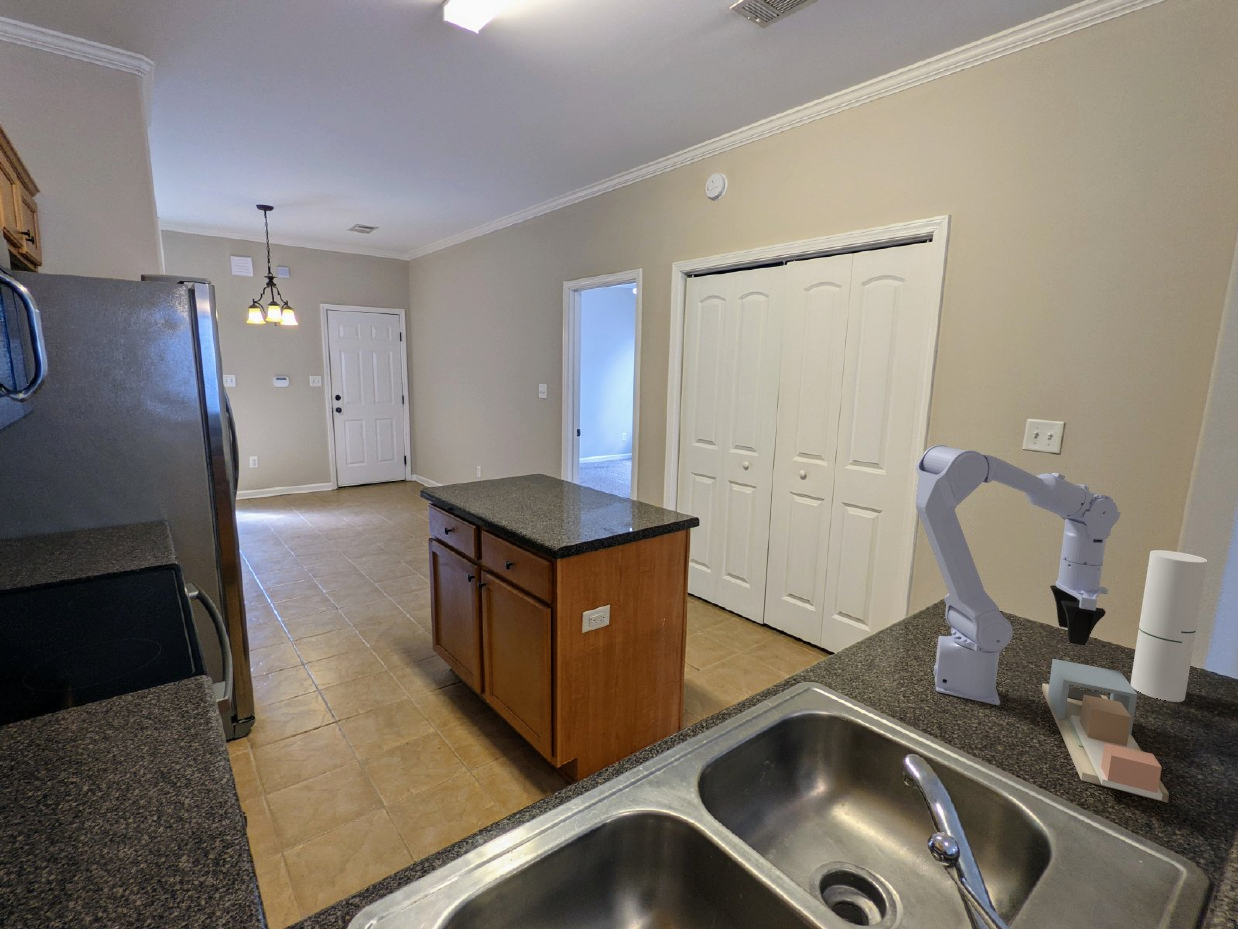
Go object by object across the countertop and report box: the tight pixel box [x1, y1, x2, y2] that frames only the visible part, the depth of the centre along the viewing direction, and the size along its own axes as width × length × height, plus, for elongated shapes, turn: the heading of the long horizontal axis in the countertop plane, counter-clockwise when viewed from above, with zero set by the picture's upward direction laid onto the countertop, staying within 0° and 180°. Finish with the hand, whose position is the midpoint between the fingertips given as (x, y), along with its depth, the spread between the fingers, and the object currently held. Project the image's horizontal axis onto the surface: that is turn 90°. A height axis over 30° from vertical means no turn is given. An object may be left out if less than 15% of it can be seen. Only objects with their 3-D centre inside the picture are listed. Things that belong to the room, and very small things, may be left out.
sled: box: [1070, 695, 1163, 801], centre depth 82 cm, size 6×17×5 cm, turn 153°
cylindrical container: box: [1130, 549, 1208, 703], centre depth 101 cm, size 7×7×25 cm
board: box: [1041, 683, 1170, 803], centre depth 89 cm, size 9×27×1 cm, turn 153°
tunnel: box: [1048, 658, 1138, 735], centre depth 93 cm, size 9×8×8 cm
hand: (1071, 635), depth 101 cm, fingers open, 7 cm apart
